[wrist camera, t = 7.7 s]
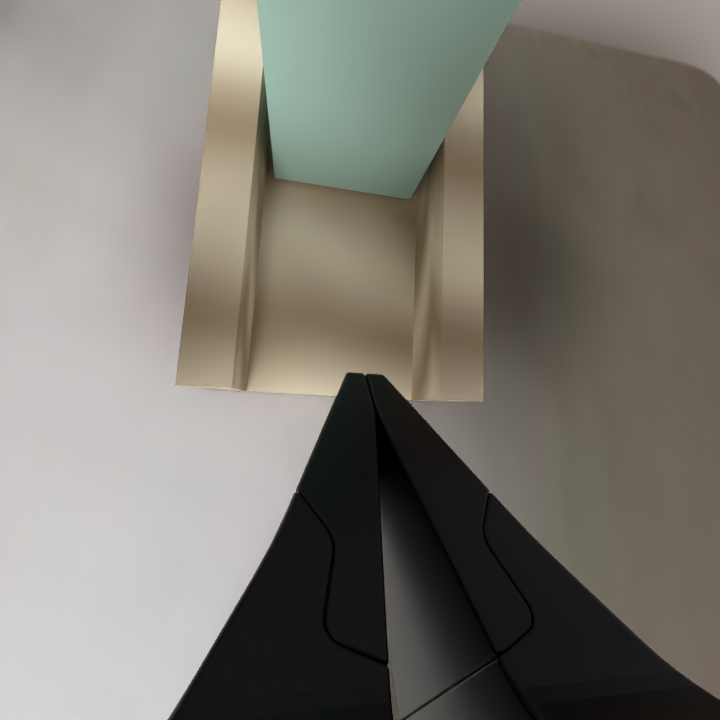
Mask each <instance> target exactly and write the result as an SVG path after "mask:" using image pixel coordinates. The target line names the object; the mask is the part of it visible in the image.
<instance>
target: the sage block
mask: <svg viewBox="0 0 720 720" xmlns="http://www.w3.org/2000/svg"><path fill="white" fill-rule="evenodd" d="M520 1H521V0H257V9H258V18H259V28H260V38H261V48H262V58H263V67H264V77H265V87H266V97H267V106H268V116H269V126H270V136H271V145H272V155H273V165H274V175H275V178H278V179H284V180H290V181H297V182H303V183H309V184H315V185H322V186H328V187H334V188H341V189H347V190H353V191H359V192H366V193H372V194H378V195H384V196H391V197H397V198H403V199H411V197H412V195H413V193H414V192H415V190H416V188H417V186H418V184H419V183H420V181H421V179H422V177H423V175H424V174H425V172H426V170H427V168H428V166H429V165H430V163H431V161H432V159H433V157H434V156H435V154H436V152H437V150H438V148H439V147H440V145H441V143H442V141H443V139H444V138H445V136H446V134H447V132H448V130H449V129H450V127H451V125H452V123H453V121H454V120H455V118H456V116H457V114H458V112H459V111H460V109H461V107H462V105H463V103H464V102H465V100H466V98H467V96H468V94H469V93H470V91H471V89H472V87H473V85H474V84H475V82H476V80H477V78H478V76H479V75H480V73H481V71H482V69H483V67H484V66H485V64H486V62H487V60H488V58H489V57H490V55H491V53H492V51H493V49H494V48H495V46H496V44H497V42H498V40H499V39H500V37H501V35H502V33H503V31H504V30H505V28H506V26H507V24H508V22H509V21H510V19H511V17H512V15H513V13H514V11H515V10H516V8H517V6H518V4H519V2H520Z"/></svg>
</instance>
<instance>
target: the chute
mask: <svg viewBox="0 0 720 720" xmlns="http://www.w3.org/2000/svg"><path fill="white" fill-rule="evenodd" d="M348 372H354V373H363V374H364V375H366V374H368V373H369V374H382V375H384V376H385V377H386V378H387V379H388V380H389V381H390V382H391V383H392V384H393V386H394V387H395V388H396V389H397V390H398V391H399V392H400V393H401V394H402V395H403V397H404V398H405V399H406V400H418V401H484V197H483V69H482V71H481V73H480V75H479V76H478V78H477V80H476V82H475V84H474V85H473V87H472V89H471V91H470V93H469V94H468V96H467V98H466V100H465V102H464V103H463V105H462V107H461V109H460V111H459V112H458V114H457V116H456V118H455V120H454V121H453V123H452V125H451V127H450V129H449V130H448V132H447V134H446V136H445V138H444V139H443V141H442V143H441V145H440V147H439V148H438V150H437V152H436V154H435V156H434V157H433V159H432V161H431V163H430V165H429V166H428V168H427V170H426V172H425V174H424V175H423V177H422V179H421V181H420V183H419V184H418V186H417V188H416V190H415V192H414V193H413V195H412V197H411V199H403V198H397V197H391V196H384V195H378V194H372V193H366V192H359V191H353V190H347V189H341V188H334V187H328V186H322V185H315V184H309V183H303V182H297V181H290V180H284V179H278V178H275V175H274V165H273V155H272V145H271V136H270V126H269V116H268V106H267V97H266V87H265V77H264V67H263V58H262V48H261V38H260V28H259V18H258V9H257V0H221V7H220V15H219V24H218V32H217V40H216V49H215V57H214V66H213V74H212V82H211V91H210V99H209V107H208V116H207V124H206V133H205V141H204V149H203V158H202V166H201V174H200V183H199V191H198V200H197V208H196V216H195V225H194V233H193V241H192V250H191V258H190V267H189V275H188V283H187V292H186V300H185V308H184V317H183V325H182V333H181V342H180V350H179V359H178V367H177V375H176V384H175V385H179V386H186V387H193V388H201V389H208V390H225V391H245V392H264V393H283V394H302V395H322V396H337V393H338V391H339V389H340V386H341V384H342V382H343V379H344V377H345V375H346V373H348Z"/></svg>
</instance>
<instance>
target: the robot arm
mask: <svg viewBox="0 0 720 720" xmlns="http://www.w3.org/2000/svg"><path fill="white" fill-rule="evenodd" d="M488 493H489V490H488V489H487V487H486V486H485V485H484V484H483V483H482V482H481V481H480V480H479V479H478V478H477V476H476V475H475V474H474V473H473V472H472V471H471V470H470V469H469V468H468V467H467V466H466V464H465V463H464V462H463V461H462V460H461V459H460V458H459V457H458V456H457V455H456V453H455V452H454V451H453V450H452V449H451V448H450V447H449V446H448V445H447V444H446V443H445V441H444V440H443V439H442V438H441V437H440V436H439V435H438V434H437V433H436V432H435V430H434V429H433V428H432V427H431V426H430V425H429V424H428V423H427V422H426V421H425V420H424V418H423V417H422V416H421V415H420V414H419V413H418V412H417V411H416V410H415V409H414V407H413V406H412V405H411V404H410V403H409V402H408V401H407V400H406V399H405V398H404V397H403V395H402V394H401V393H400V392H399V391H398V390H397V389H396V388H395V387H394V386H393V384H392V383H391V382H390V381H389V380H388V379H387V378H386V377H385V376H384V375H382V374H369V373H368V374H366V375H364V374H363V373H354V372H348V373H346V375H345V377H344V379H343V382H342V384H341V386H340V389H339V391H338V393H337V396H336V398H335V400H334V403H333V405H332V407H331V410H330V412H329V414H328V417H327V419H326V421H325V424H324V426H323V428H322V431H321V433H320V435H319V438H318V440H317V442H316V445H315V447H314V449H313V451H312V454H311V456H310V458H309V461H308V463H307V465H306V468H305V470H304V472H303V475H302V477H301V479H300V482H299V484H298V486H297V489H296V493H294V495H293V497H292V500H291V502H290V504H289V507H288V509H287V511H286V513H285V516H284V518H283V520H282V522H281V524H280V526H279V528H278V530H277V532H276V535H275V537H274V539H273V541H272V543H271V545H270V547H269V548H268V550H267V552H266V554H265V556H264V558H263V559H262V561H261V563H260V565H259V567H258V569H257V570H256V572H255V574H254V576H253V578H252V579H251V581H250V583H249V585H248V586H247V588H246V590H245V591H244V593H243V595H242V596H241V598H240V600H239V602H238V603H237V605H236V607H235V608H234V610H233V612H232V613H231V615H230V617H229V619H228V620H227V622H226V624H225V625H224V627H223V629H222V630H221V632H220V634H219V636H218V637H217V639H216V641H215V642H214V644H213V646H212V647H211V649H210V651H209V653H208V654H207V656H206V658H205V659H204V661H203V663H202V664H201V666H200V668H199V670H198V671H197V673H196V675H195V676H194V678H193V680H192V681H191V683H190V685H189V686H188V688H187V690H186V691H185V693H184V694H183V696H182V698H181V699H180V701H179V703H178V704H177V706H176V707H175V709H174V711H173V712H172V714H171V715H170V717H169V718H168V720H393V714H392V704H391V693H390V679H389V669H388V667H387V665H388V651H389V657H390V663H391V670H392V676H393V682H394V689H395V695H396V702H397V708H398V714H399V719H400V720H720V700H719V699H718V698H716V697H715V696H713V695H711V694H710V693H708V692H707V691H705V690H704V689H702V688H701V687H699V686H698V685H696V684H695V683H693V682H692V681H691V680H689V679H688V678H687V677H685V676H684V675H682V674H681V673H680V672H678V671H677V670H676V669H675V668H673V667H672V666H671V665H670V664H668V663H667V662H666V661H665V660H663V659H662V658H661V657H660V656H659V655H657V654H656V653H655V652H654V651H653V650H652V649H651V648H650V647H648V646H647V645H646V644H645V643H644V642H643V641H642V640H641V639H640V638H639V637H638V636H637V635H635V634H634V633H633V632H632V631H631V630H630V629H629V628H628V627H627V626H626V625H625V624H624V623H623V622H622V621H621V620H620V619H618V618H617V617H616V616H615V615H614V614H613V613H612V612H611V611H610V610H609V609H608V608H607V607H606V606H605V605H604V604H603V603H602V602H600V601H599V600H598V599H597V598H596V597H595V596H594V595H593V594H592V593H591V592H590V591H589V590H588V589H587V588H586V587H585V586H583V585H582V584H581V583H580V582H579V581H578V580H577V579H576V578H575V577H574V576H573V575H572V574H571V573H570V572H569V571H568V570H567V569H565V568H564V567H563V566H562V565H561V564H560V563H559V562H558V561H557V560H556V559H555V558H554V557H553V556H552V555H551V554H550V553H549V552H548V551H547V550H546V549H545V548H544V547H543V546H542V545H541V544H540V543H539V542H538V541H537V540H536V539H535V538H534V537H533V536H532V535H531V534H530V533H529V532H528V531H527V530H526V529H525V528H524V527H523V526H522V525H521V524H520V523H519V522H518V521H517V520H516V519H515V518H514V516H513V515H512V514H511V513H510V512H509V511H508V510H507V509H506V508H505V507H504V506H503V505H502V504H501V503H500V501H499V500H498V499H497V498H496V497H495V496H494V495H493V494H492V493H489V494H488Z"/></svg>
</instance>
